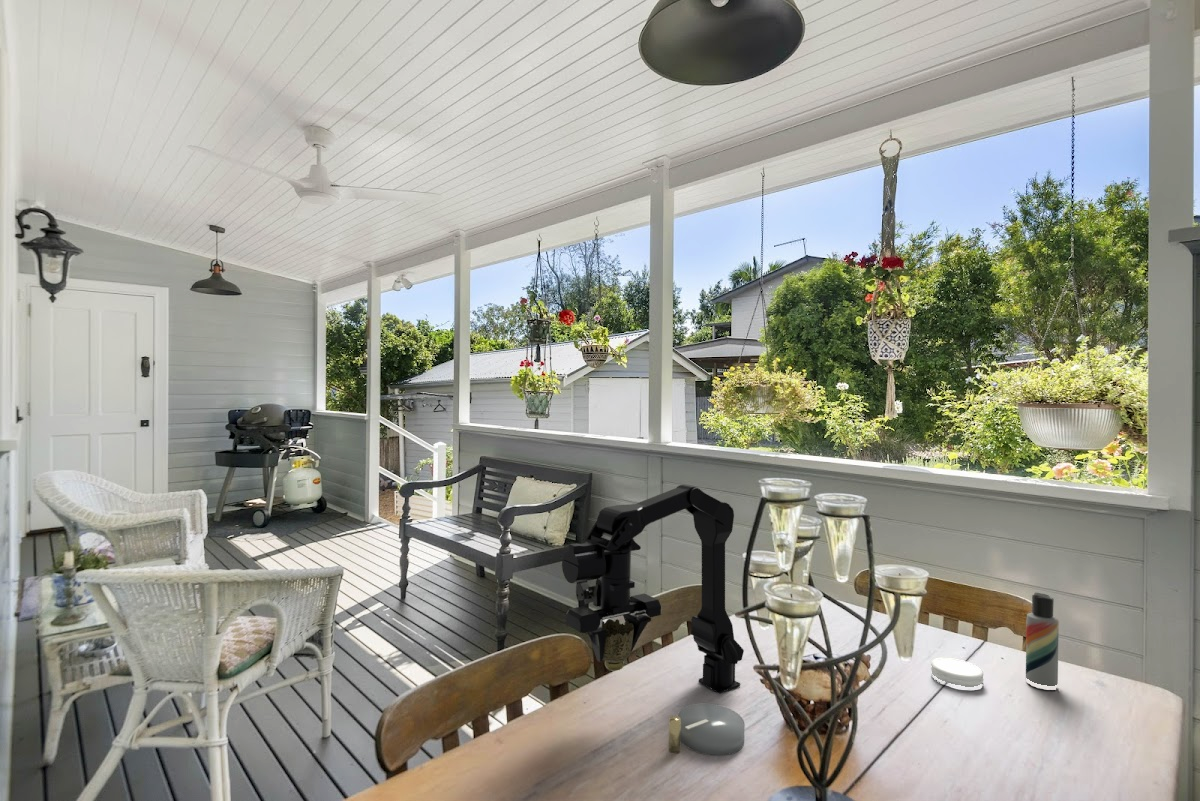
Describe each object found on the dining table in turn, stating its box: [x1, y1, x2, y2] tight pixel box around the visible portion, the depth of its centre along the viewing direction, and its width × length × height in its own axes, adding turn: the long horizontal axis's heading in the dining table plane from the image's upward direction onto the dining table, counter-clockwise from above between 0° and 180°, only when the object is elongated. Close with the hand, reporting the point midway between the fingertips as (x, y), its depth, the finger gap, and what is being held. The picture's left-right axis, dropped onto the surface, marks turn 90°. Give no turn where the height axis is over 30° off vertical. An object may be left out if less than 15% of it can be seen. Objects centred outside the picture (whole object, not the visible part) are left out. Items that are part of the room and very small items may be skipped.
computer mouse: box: [676, 702, 746, 757], centre depth 109 cm, size 12×12×3 cm
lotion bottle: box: [1025, 592, 1060, 686], centre depth 132 cm, size 6×6×20 cm
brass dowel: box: [668, 715, 681, 755], centre depth 104 cm, size 2×2×6 cm
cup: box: [602, 618, 634, 672], centre depth 114 cm, size 8×7×8 cm
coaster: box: [930, 657, 984, 687], centre depth 134 cm, size 10×10×4 cm
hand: (614, 657), depth 114 cm, fingers closed on cup, 6 cm apart
